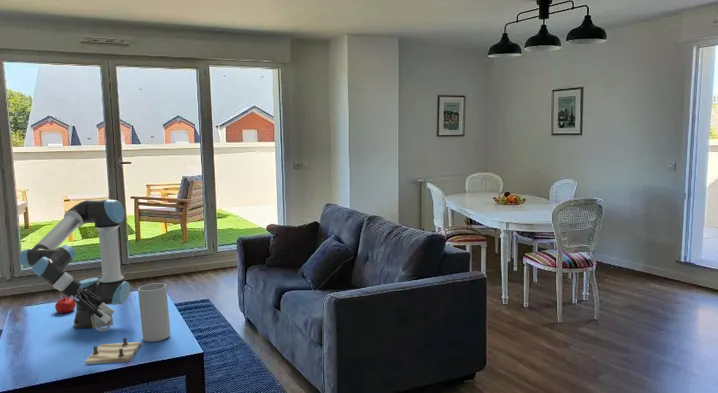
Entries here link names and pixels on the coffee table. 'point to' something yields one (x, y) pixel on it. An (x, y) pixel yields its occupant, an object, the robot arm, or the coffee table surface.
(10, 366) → the coffee table surface
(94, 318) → the ceramic mug
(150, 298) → the cylinder vase
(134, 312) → the coffee table surface
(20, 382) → the coffee table surface
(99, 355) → the post board
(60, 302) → the red pumpkin
